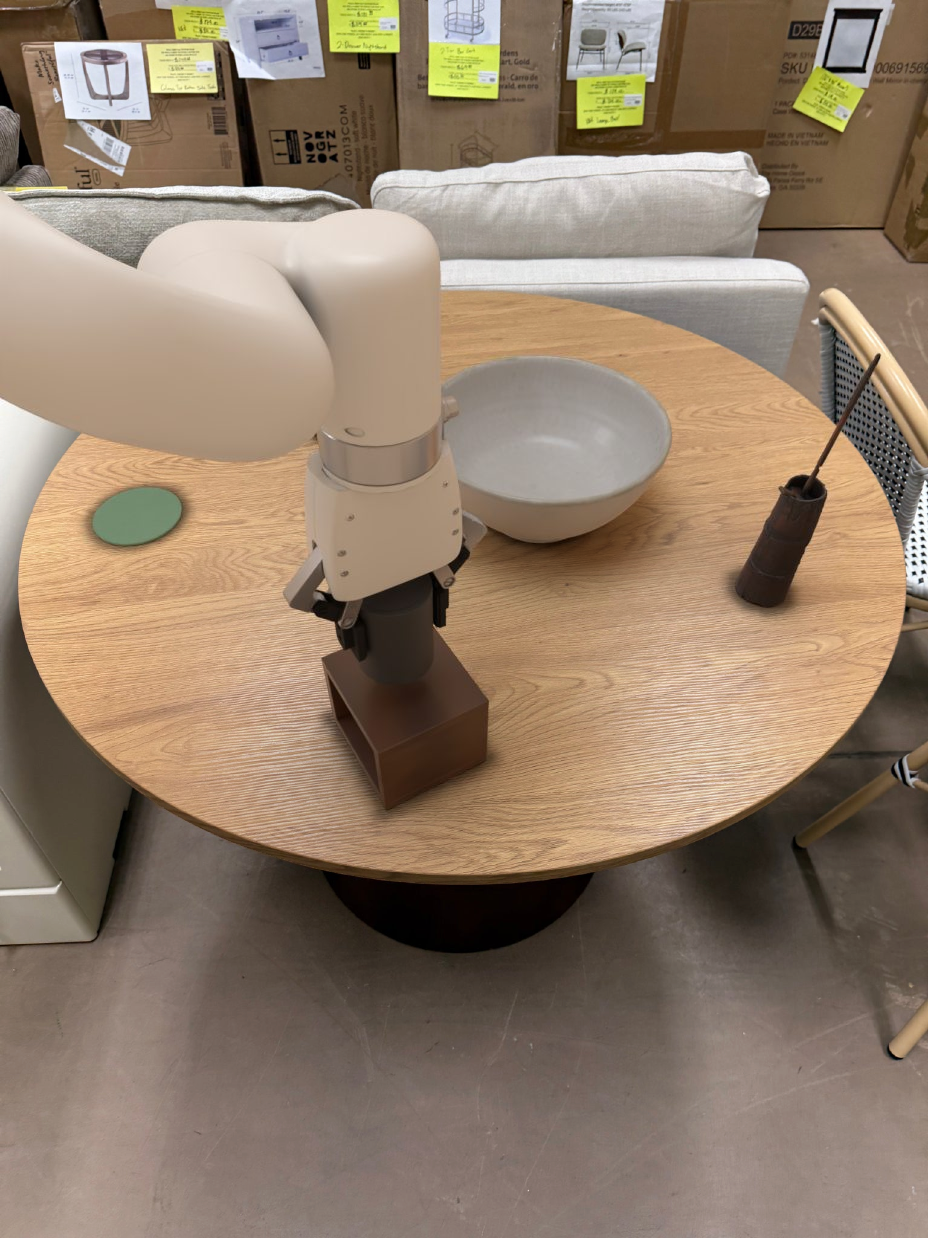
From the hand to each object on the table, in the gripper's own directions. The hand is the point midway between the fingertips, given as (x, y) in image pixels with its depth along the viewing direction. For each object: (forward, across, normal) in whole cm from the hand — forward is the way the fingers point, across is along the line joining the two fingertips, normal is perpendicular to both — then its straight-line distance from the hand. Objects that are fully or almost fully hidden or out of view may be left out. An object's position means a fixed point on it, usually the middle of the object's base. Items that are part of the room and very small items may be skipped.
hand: (394, 630), depth 62 cm
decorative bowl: (+15, -29, -21) cm, 38 cm away
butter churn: (+15, -41, +2) cm, 43 cm away
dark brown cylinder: (+3, 0, 0) cm, 3 cm away
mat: (+15, +12, -43) cm, 47 cm away
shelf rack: (+15, -1, 0) cm, 15 cm away
